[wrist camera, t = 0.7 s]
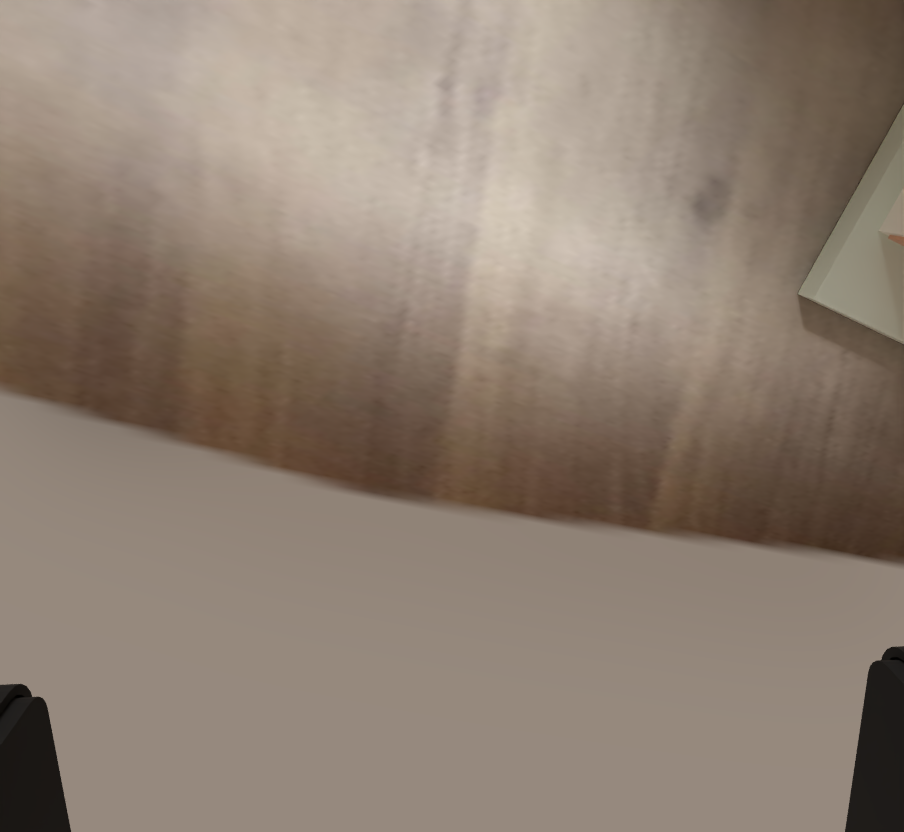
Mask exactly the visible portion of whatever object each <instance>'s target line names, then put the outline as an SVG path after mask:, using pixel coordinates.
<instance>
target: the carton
mask: <svg viewBox="0 0 904 832" xmlns="http://www.w3.org/2000/svg"><path fill="white" fill-rule="evenodd" d="M879 231H880V232H882V233H884V234H886V235H888V236H889V237H888V239H890V240H892V241H894V242H896V243H898V244H900V245H902V246H904V187H903V189H902V191H901V193H900V194H899V196H898V198H897V199H896V201H895V203H894V205H893V206H892V208H891V210H890V212H889V213H888V215H887V217H886V219H885V220H884V222H883V224H882V226H881V227H880V229H879Z"/></svg>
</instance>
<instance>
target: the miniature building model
mask: <svg viewBox="0 0 904 832" xmlns="http://www.w3.org/2000/svg"><path fill="white" fill-rule="evenodd" d="M903 187H904V105H903V106H902V108H901V110H900V112H899V114H898V115H897V117H896V119H895V121H894V123H893V124H892V126H891V128H890V130H889V131H888V133H887V135H886V137H885V139H884V140H883V142H882V144H881V146H880V147H879V149H878V151H877V153H876V155H875V156H874V158H873V160H872V162H871V164H870V165H869V167H868V169H867V171H866V172H865V174H864V176H863V178H862V180H861V181H860V183H859V185H858V187H857V189H856V190H855V192H854V194H853V196H852V197H851V199H850V201H849V203H848V205H847V206H846V208H845V210H844V212H843V214H842V215H841V217H840V219H839V221H838V222H837V224H836V226H835V228H834V230H833V231H832V233H831V235H830V237H829V239H828V240H827V242H826V244H825V246H824V247H823V249H822V251H821V253H820V255H819V256H818V258H817V260H816V262H815V264H814V265H813V267H812V269H811V271H810V272H809V274H808V276H807V278H806V280H805V281H804V283H803V285H802V287H801V288H800V290H799V292H798V295H801V296H803V297H805V298H807V299H809V300H811V301H813V302H815V303H817V304H819V305H822V306H824V307H826V308H828V309H830V310H832V311H834V312H836V313H838V314H841V315H843V316H845V317H847V318H849V319H851V320H853V321H855V322H857V323H859V324H862V325H864V326H866V327H868V328H870V329H872V330H874V331H876V332H878V333H880V334H883V335H885V336H887V337H889V338H891V339H893V340H895V341H897V342H899V343H901V344H904V246H902V245H900V244H898V243H896V242H894V241H892V240H890V239H888V237H889V236H888V235H886V234H884V233H882V232H880V231H879V229H880V227H881V226H882V224H883V222H884V220H885V219H886V217H887V215H888V213H889V212H890V210H891V208H892V206H893V205H894V203H895V201H896V199H897V198H898V196H899V194H900V193H901V191H902V189H903Z"/></svg>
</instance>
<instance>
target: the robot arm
mask: <svg viewBox="0 0 904 832" xmlns="http://www.w3.org/2000/svg"><path fill="white" fill-rule="evenodd" d="M0 832H71V829H70V824H69V819H68V814H67V808H66V803H65V798H64V792H63V787H62V782H61V777H60V771H59V766H58V761H57V755H56V750H55V745H54V740H53V734H52V729H51V724H50V719H49V713H48V708H47V705H46V703H45V701H44V699H43V698H41V697H32V695H31V692H30V690H29V689H28V688H27V686H25V685H23V684H10V685H0ZM845 832H904V646H903V647H891V648H889V649H887V650H886V651H885V653H884V654H883V656H882V660H880V661H875V662H873V663H872V665H871V666H870V669H869V672H868V678H867V686H866V692H865V699H864V706H863V712H862V719H861V727H860V734H859V740H858V747H857V754H856V761H855V768H854V775H853V781H852V788H851V795H850V803H849V809H848V815H847V822H846V829H845Z"/></svg>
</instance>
